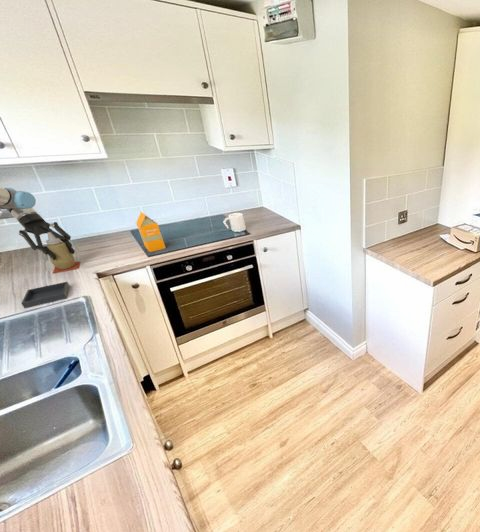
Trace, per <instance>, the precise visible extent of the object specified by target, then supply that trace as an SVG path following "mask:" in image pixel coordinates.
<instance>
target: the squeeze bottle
mask: <svg viewBox="0 0 480 532" xmlns="http://www.w3.org/2000/svg"><path fill="white" fill-rule="evenodd" d="M46 234H47V238H48V239H47V240H45V243H46V245H45V246H46V247H47V248H48V249H49V250H50V251H51V252H52V253H53V254H54V255H55V256H56V260H53V259H52V258H51V257H50V256H49V255H48V257H49V260H50V262H51V264H52V265H53V266H54V267H55V266H56V267H57V268H58V269H67V268H70V267H73V266H74V265H75V262H76V261H75V260H76V259H75V256H74V254H72V253H71V252H70V250H69V249H68V247H67V246H66V244H65V243H64V242H62V241H61V240H60V239H59V238H56V237H55V236H54V235H53V234H52V233H51V232H48V233H46Z"/></svg>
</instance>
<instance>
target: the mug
mask: <svg viewBox="0 0 480 532" xmlns="http://www.w3.org/2000/svg"><path fill="white" fill-rule="evenodd" d="M227 221H229V224H230V227H229V225H228V224H227ZM222 223H223V224H224V226H225V227H226V229H229V228H230V229H231V231H232V232H234V233H239V232H243V231H246V228H247V227H246V223H245V217H244V214H243V213H241V212H235V213H233V212H232V213H229V214H228V217H225V218H224V219H223V221H222Z"/></svg>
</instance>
